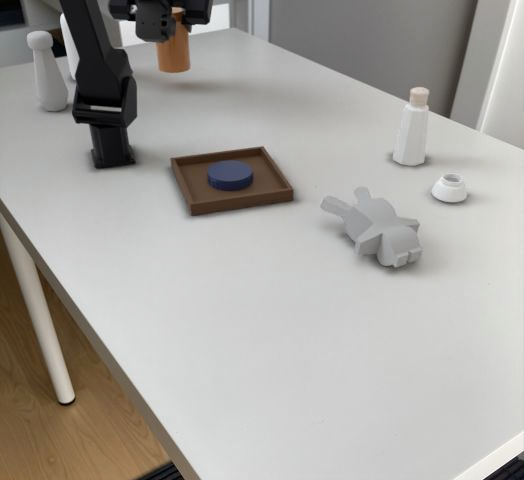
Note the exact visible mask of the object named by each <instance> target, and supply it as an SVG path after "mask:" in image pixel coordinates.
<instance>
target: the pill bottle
mask: <svg viewBox="0 0 524 480" xmlns="http://www.w3.org/2000/svg"><path fill="white" fill-rule="evenodd" d="M59 22H60V23H59V24H60V27H61V32H62V33H61V34H62V38H63V41H64V46H65V51H66V58H67V61H68V67H69V71H70V74H71V78H72V79H73V80H74V81H76V79H75V72H76V69H77V65H78V62H79V56H78V53H77V50H76V47H75V45H74V42H73V39H72V36H71V34H70V31H69V28H68V25H67V23H66V20H65V17H64V14H63V12H62V13H61V15H60V19H59Z"/></svg>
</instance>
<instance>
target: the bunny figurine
mask: <svg viewBox="0 0 524 480" xmlns="http://www.w3.org/2000/svg"><path fill="white" fill-rule="evenodd" d="M353 195H354V197H355V198H356V200H357V202H356V203H355V204H354V205H353V206H352V205H351V204H350V203H349V204H348V203H347V202H345V201H343V200H341V199H340V198H339V197H336V196H332V195H326V196H324V197H323V198H322V200H321V202H320V204H319V209H320V210H321V211H323V212H327V213H329V214H333V215H335V216H338V217H341V218H343V220H344V224H345V229H346V233H347V235H348V236H349V238H350V239H351V240H352V241H353V242H354V243H355V245H354V249H353V253H354V254H355V255H357V256H363V255H364V256H365V255H376V257H377V261H378V263H379V264H380V265H381V266H385V267H388V266H393V267H394V268H399V267H402V266H404V265H406V264H407V263H413V262H416V261H418V260H421V257H422V254H423V251H424V249H423V248H422V247H421V245H420V240H419V237H418V231H419V228H420V221H418V219H417V218H416V219H415V218H408V217H401V216H398V214H397V212H396V208H394V206H393V205H392V204H391V203H390V201H388V200H387V199H386V198H384V197H376V198H375V197H374V198H372V197H371V194H370V190H369V188H368V187H366V186H358V187H356V188H354V189H353Z"/></svg>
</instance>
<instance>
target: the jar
mask: <svg viewBox="0 0 524 480" xmlns="http://www.w3.org/2000/svg"><path fill="white" fill-rule="evenodd" d="M182 16H183V11H182V8H176V7H172V15H171V17H174V18H175V19H176V34H175V36H171V37H170V40H169V41H165V42H164V43H157V42H155V46H156V47H155V49H156V56H157V67H158V70H159V71H161V72H162V73H168V74H179V73H184V72H187V71H189V70H191V69H192V64H191V61H192V60H191V47H190V35H189V34H190V33H189V32H188V31H187V29H186V26H185V25H181V22H182Z"/></svg>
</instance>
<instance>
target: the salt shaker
mask: <svg viewBox="0 0 524 480" xmlns="http://www.w3.org/2000/svg"><path fill="white" fill-rule="evenodd" d="M26 42H27V43H26V44H27V46H28V47H29V49H31V50H32V55H33V65H34V66H33V67H34V79H35V80H34V81H35V95H36V99H37V101H38V102H39V103H40V105H41V106H42V107H43V108H44V110H45V111H47V112H54V113H55V112H58V111H63V110H65V109H66V107H67V105H68V99H69V90H68V87H67V85H66V82H65V80H64V78H63V75H62V72H61V70H60V67H59V64H58V62H57V59H56V57H55V55H54V52H53V50H52V47H53V46H54V40H53V36H52V34H51V33H50V32H48V31H45V30H36V31H31V32H29V33H28V34H27V35H26Z"/></svg>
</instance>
